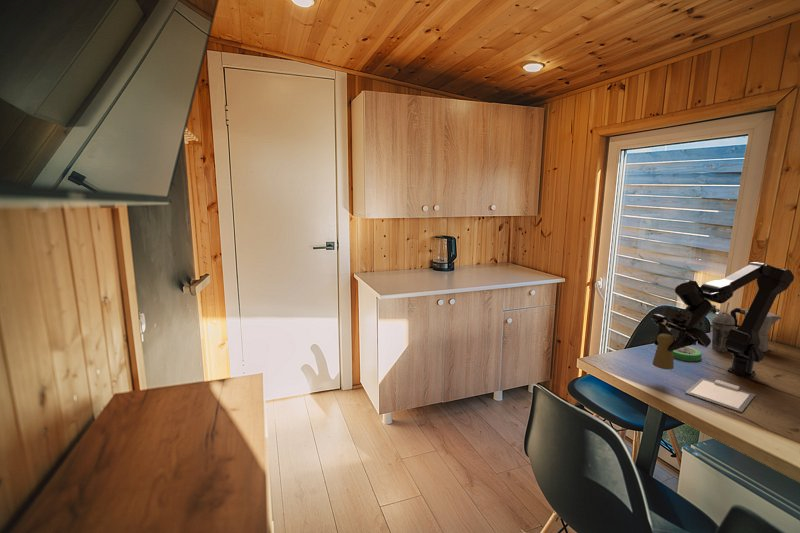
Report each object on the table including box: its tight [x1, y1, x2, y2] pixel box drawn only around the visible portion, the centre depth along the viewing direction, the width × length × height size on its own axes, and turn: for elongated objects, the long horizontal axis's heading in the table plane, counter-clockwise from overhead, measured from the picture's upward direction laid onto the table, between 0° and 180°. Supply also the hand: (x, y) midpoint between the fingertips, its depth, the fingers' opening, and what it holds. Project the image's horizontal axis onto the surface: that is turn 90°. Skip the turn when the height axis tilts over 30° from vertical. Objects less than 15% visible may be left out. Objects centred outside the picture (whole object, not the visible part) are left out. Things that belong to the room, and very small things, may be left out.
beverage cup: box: [711, 302, 735, 353], centre depth 155 cm, size 7×7×20 cm
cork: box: [652, 334, 676, 370], centre depth 129 cm, size 6×6×11 cm
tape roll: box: [673, 346, 702, 362], centre depth 152 cm, size 11×11×3 cm
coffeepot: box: [729, 307, 783, 353], centre depth 158 cm, size 15×9×18 cm, turn 45°
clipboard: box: [684, 377, 756, 414], centre depth 123 cm, size 16×14×1 cm
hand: (661, 347), depth 129 cm, fingers closed on cork, 5 cm apart
